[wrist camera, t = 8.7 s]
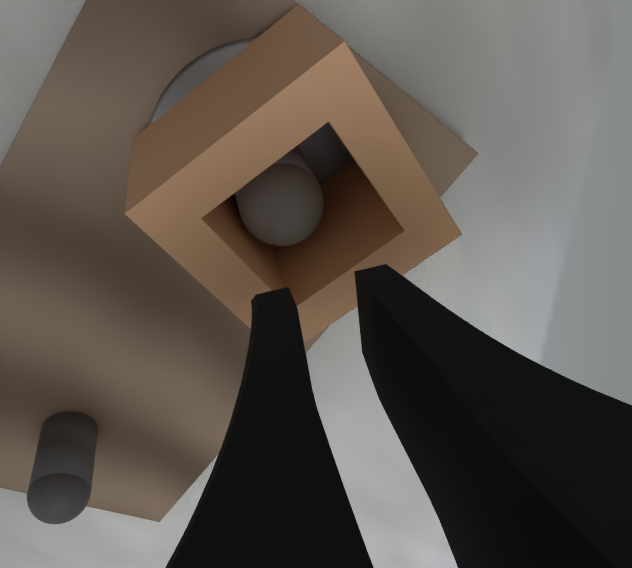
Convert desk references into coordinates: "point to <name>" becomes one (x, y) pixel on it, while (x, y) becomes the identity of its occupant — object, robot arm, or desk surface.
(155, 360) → the hub board
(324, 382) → the desk surface
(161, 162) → the collar
